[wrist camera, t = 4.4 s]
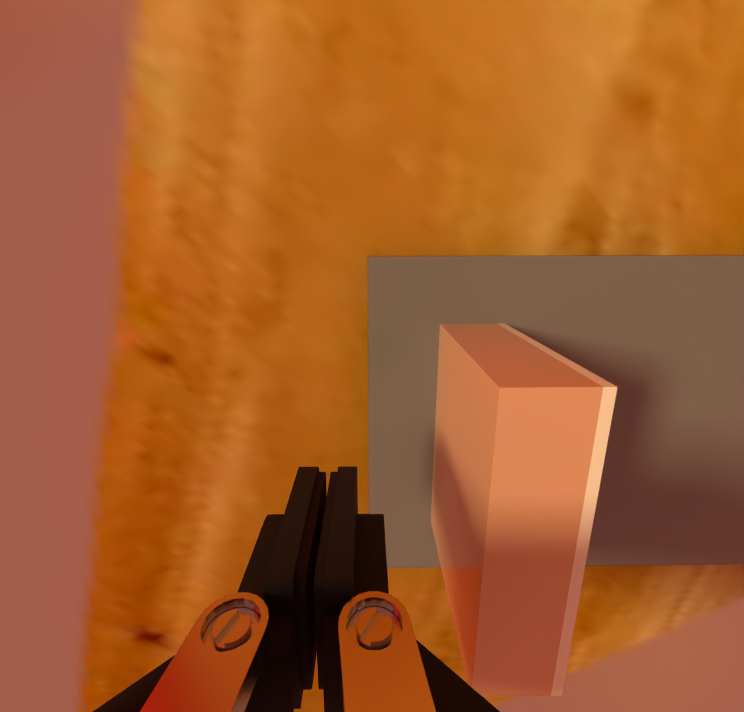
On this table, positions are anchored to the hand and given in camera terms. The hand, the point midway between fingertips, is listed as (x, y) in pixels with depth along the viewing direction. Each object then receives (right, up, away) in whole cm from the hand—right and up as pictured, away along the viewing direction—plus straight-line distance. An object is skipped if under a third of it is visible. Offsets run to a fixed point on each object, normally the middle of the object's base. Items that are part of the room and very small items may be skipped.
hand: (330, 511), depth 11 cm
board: (+10, +2, +6) cm, 12 cm away
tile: (+5, +1, +5) cm, 7 cm away
